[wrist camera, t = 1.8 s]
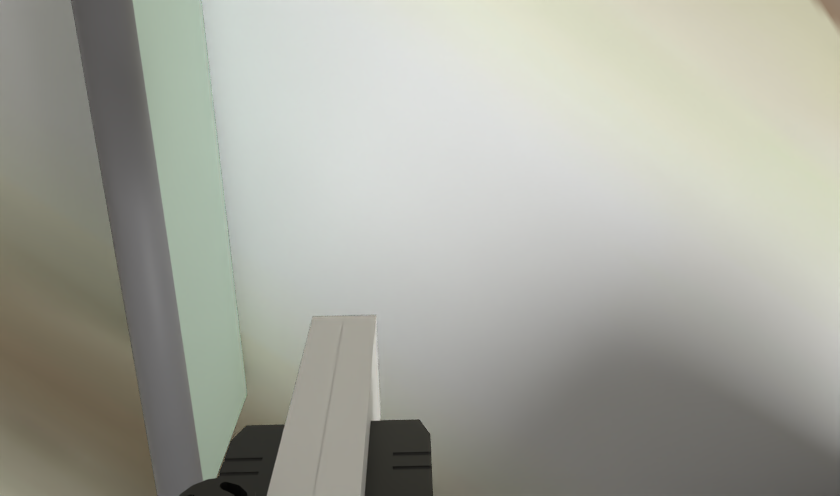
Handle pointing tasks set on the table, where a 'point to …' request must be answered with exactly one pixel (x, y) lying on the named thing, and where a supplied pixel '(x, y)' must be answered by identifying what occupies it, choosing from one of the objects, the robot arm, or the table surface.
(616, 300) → the table surface
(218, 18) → the table surface
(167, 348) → the pale green flat panel
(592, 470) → the table surface
